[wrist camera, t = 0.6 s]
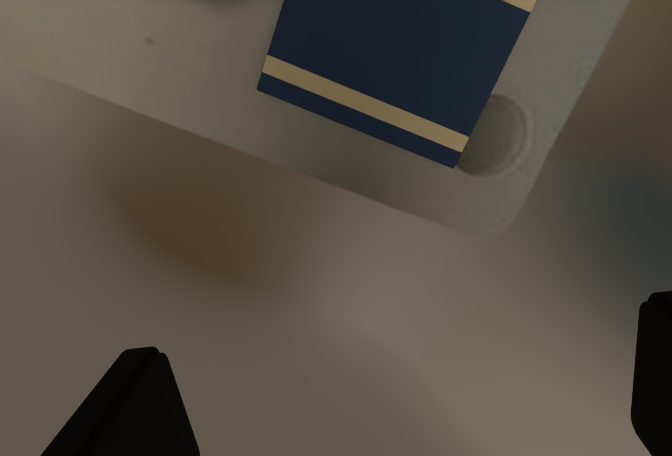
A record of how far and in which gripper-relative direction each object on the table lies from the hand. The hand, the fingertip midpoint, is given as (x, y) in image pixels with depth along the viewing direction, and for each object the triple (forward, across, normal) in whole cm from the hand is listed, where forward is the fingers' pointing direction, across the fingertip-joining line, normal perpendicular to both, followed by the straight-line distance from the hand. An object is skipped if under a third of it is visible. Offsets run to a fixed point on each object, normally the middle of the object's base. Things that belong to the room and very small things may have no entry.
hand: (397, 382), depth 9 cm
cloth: (+32, -3, -7) cm, 33 cm away
